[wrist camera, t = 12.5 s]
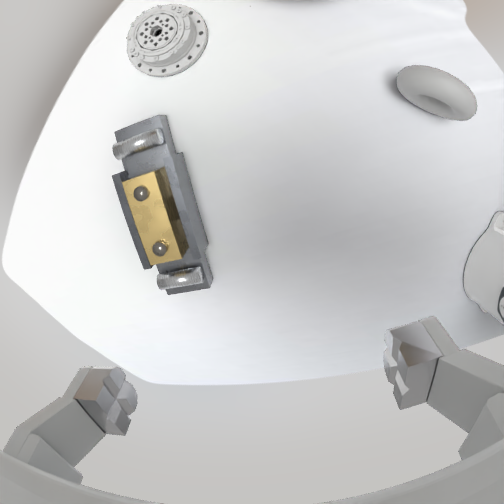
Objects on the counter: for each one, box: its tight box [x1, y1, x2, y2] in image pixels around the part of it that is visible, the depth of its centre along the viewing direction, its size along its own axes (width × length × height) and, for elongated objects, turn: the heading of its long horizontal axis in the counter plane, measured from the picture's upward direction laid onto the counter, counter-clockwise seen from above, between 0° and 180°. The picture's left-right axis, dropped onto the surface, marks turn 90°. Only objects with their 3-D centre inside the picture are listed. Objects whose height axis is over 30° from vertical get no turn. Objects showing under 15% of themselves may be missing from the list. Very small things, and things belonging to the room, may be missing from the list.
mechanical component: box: [126, 4, 207, 77], centre depth 26 cm, size 10×4×10 cm
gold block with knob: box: [122, 167, 189, 265], centre depth 32 cm, size 4×10×4 cm, turn 13°
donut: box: [397, 65, 477, 121], centre depth 24 cm, size 10×4×10 cm, turn 74°
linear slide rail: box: [112, 115, 213, 295], centre depth 34 cm, size 8×22×4 cm, turn 13°
